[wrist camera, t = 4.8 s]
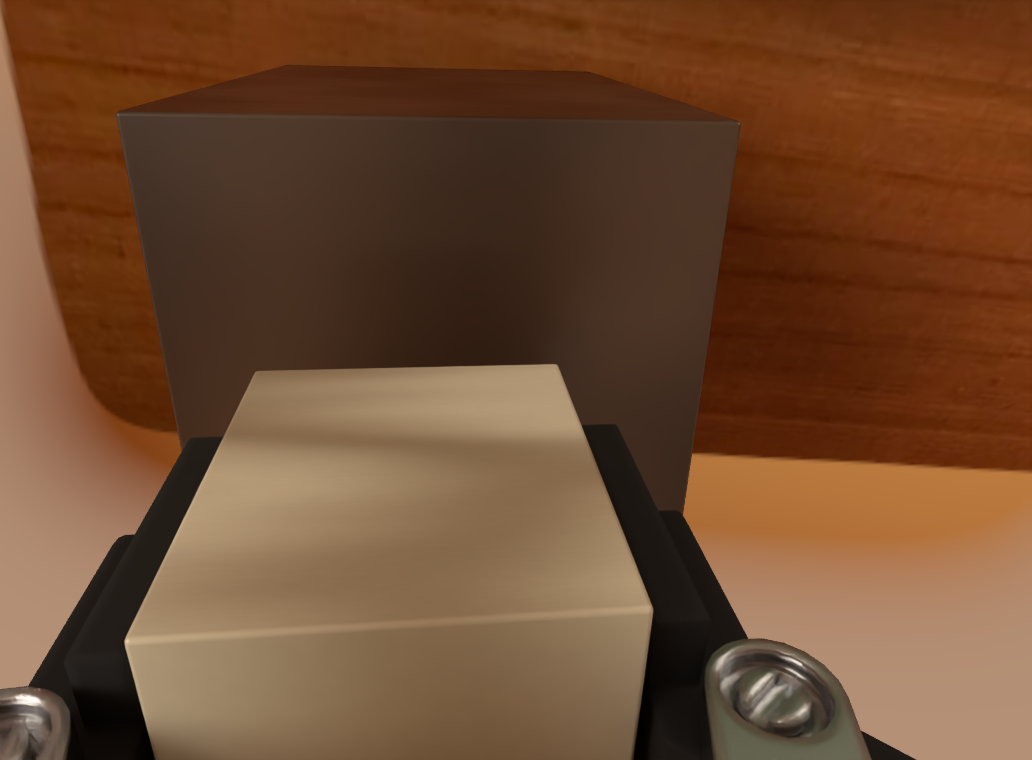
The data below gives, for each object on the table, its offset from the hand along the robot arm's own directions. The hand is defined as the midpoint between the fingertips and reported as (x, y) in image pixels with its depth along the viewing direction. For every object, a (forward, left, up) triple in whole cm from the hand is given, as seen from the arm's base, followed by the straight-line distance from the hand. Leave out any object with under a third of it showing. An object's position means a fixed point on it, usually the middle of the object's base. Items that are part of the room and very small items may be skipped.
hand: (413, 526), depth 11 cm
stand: (0, 0, -18) cm, 18 cm away
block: (0, 0, -1) cm, 1 cm away
